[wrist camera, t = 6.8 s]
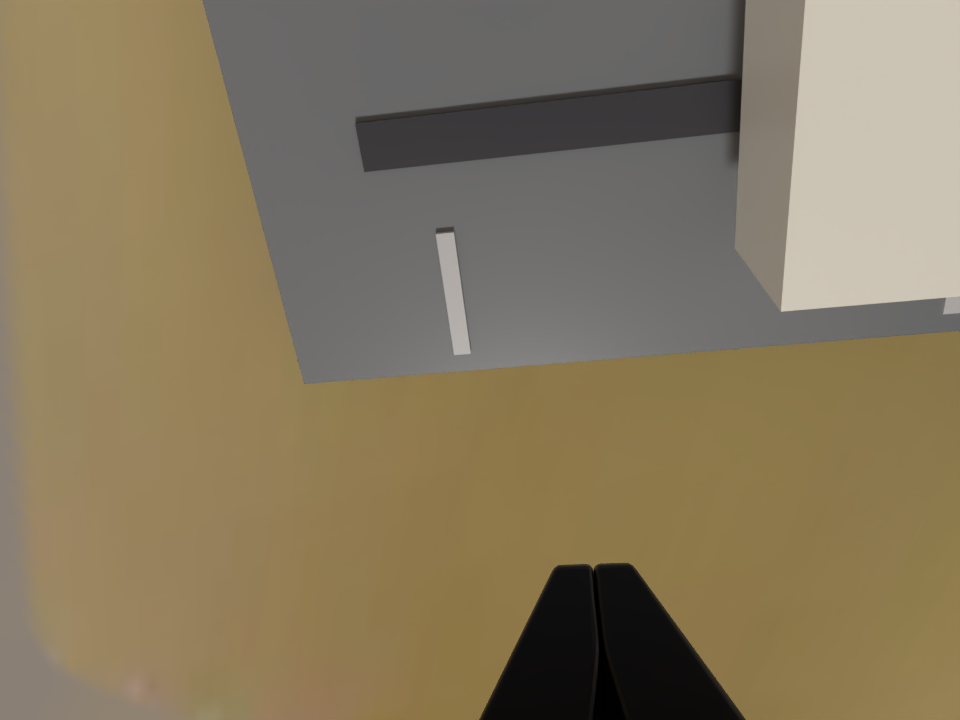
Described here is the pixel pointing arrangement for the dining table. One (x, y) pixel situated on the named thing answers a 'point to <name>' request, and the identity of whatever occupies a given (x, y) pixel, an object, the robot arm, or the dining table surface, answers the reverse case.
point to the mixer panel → (507, 183)
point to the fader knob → (850, 151)
